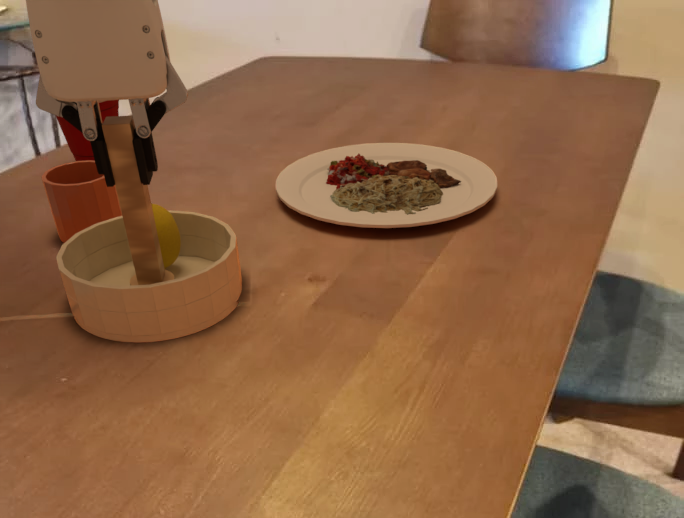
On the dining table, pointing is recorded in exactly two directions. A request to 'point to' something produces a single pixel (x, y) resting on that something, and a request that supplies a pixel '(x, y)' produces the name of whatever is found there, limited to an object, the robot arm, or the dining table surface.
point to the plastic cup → (76, 138)
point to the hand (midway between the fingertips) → (130, 178)
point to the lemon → (167, 235)
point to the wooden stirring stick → (134, 203)
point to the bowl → (153, 299)
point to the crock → (79, 197)
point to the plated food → (386, 185)
